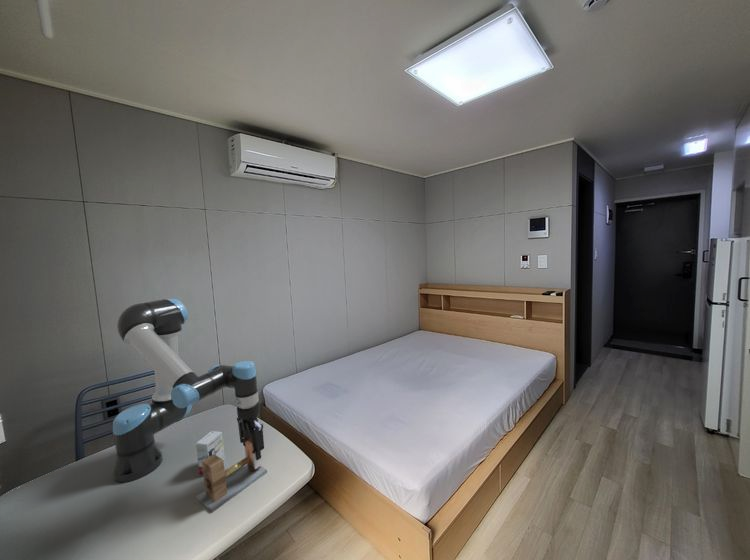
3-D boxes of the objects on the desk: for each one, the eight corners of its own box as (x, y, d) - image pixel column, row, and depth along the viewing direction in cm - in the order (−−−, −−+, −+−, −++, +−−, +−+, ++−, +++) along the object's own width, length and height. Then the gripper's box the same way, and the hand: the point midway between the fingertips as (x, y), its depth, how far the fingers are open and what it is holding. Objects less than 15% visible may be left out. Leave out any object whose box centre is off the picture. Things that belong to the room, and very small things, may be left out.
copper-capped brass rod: (215, 488, 102) (212, 459, 102) (256, 461, 115) (253, 435, 114) (222, 493, 100) (219, 464, 99) (262, 465, 112) (260, 438, 111)
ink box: (209, 474, 111) (206, 444, 110) (198, 473, 112) (195, 443, 111) (225, 458, 120) (222, 431, 119) (215, 457, 121) (211, 430, 120)
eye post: (197, 498, 100) (192, 462, 99) (251, 462, 116) (248, 431, 115) (212, 512, 94) (207, 473, 93) (267, 472, 111) (263, 439, 110)
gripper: (225, 402, 112) (231, 461, 114) (252, 415, 102) (258, 479, 104) (244, 394, 118) (249, 450, 120) (271, 405, 108) (276, 466, 110)
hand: (254, 463), depth 112 cm, fingers closed on copper-capped brass rod, 4 cm apart
